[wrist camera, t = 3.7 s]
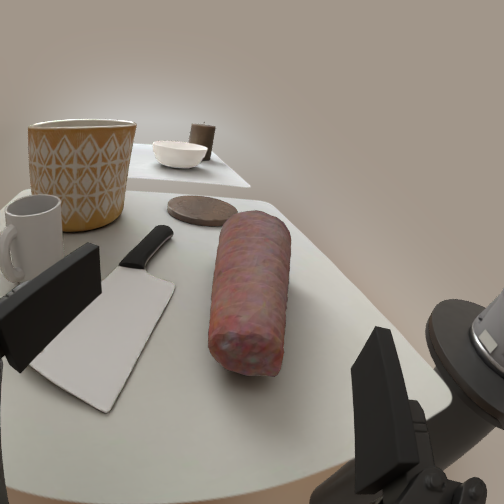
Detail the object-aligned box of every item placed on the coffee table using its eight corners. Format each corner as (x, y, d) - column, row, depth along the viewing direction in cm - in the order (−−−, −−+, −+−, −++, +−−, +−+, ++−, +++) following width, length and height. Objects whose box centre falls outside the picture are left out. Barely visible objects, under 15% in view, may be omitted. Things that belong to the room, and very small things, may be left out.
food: (215, 262, 41) (225, 201, 37) (280, 273, 42) (297, 215, 38) (197, 384, 22) (209, 299, 18) (306, 394, 23) (346, 317, 19)
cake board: (238, 208, 65) (239, 202, 64) (234, 232, 52) (235, 225, 51) (177, 196, 64) (177, 191, 63) (157, 217, 51) (158, 211, 50)
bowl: (215, 170, 96) (219, 149, 93) (175, 175, 81) (179, 150, 78) (178, 159, 103) (181, 140, 100) (139, 162, 89) (141, 141, 86)
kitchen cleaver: (107, 408, 17) (9, 348, 16) (108, 418, 17) (14, 360, 17) (209, 240, 45) (150, 219, 45) (206, 249, 46) (149, 228, 45)
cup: (76, 266, 32) (72, 199, 29) (29, 310, 23) (12, 232, 20) (39, 253, 32) (33, 191, 29) (-8, 290, 23) (-24, 219, 20)
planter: (49, 197, 50) (51, 119, 43) (132, 199, 57) (140, 120, 50) (13, 236, 34) (8, 130, 27) (123, 240, 41) (130, 128, 34)
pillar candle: (211, 161, 110) (218, 124, 103) (186, 158, 107) (192, 120, 101) (208, 157, 118) (215, 122, 112) (185, 154, 115) (191, 119, 109)
